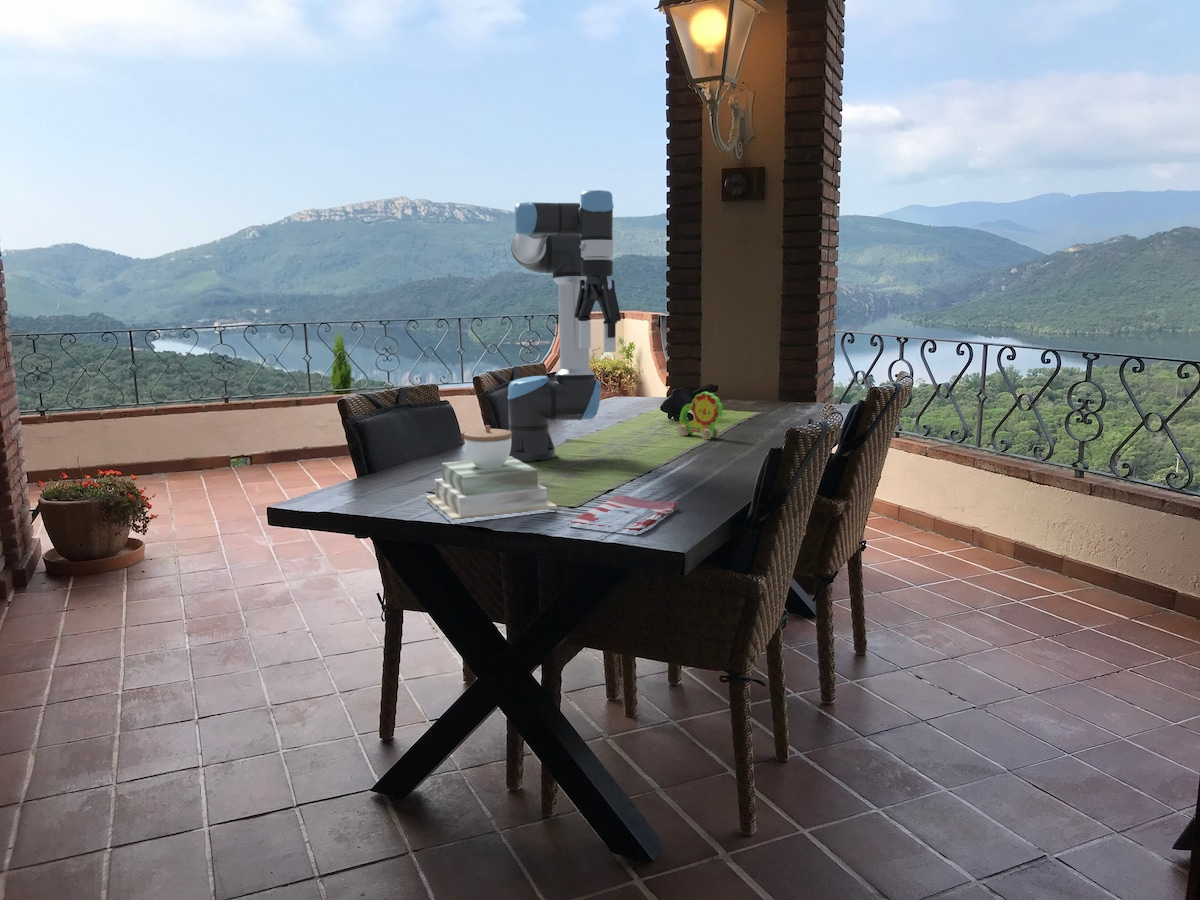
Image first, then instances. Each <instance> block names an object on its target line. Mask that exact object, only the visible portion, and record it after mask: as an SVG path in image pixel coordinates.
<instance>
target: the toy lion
mask: <svg viewBox="0 0 1200 900" xmlns="http://www.w3.org/2000/svg"><path fill="white" fill-rule="evenodd" d="M689 411H692V413H693V415H694V417H693V418H694V419H692V420H690V421H688V412H689ZM723 413H724V412H723V403H722V402H721V400H720V398H719V396H716V395H715V393H712V392H711V393H710V392H709V391H703V392H700V393H699V394H698V393H697V394H696V395H695V396H694V398H693V399H692V401H691V403H687V404H685V405H684V406H683V407H682V409H681V411H680V416H679V425H678V427H677V428H676V429H677V433H678V435H679V436H681V437H685V436H688V434H690V435H693V434H694V432H695V433H698V434H701V435H700V436H701V438H702V439H703V440H704V439H709V440H711V439H716V438H718V436H719V433H720V431H719V429H718V428H717V426H715V424H718V423H719V422H720V419H721V418H722V417H723ZM711 437H712V438H711Z"/></svg>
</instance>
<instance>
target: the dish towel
mask: <svg viewBox="0 0 1200 900" xmlns="http://www.w3.org/2000/svg"><path fill="white" fill-rule="evenodd" d="M678 505H679V502H678V501H659V500H658V501H653V500H648V499H641V498H637V497H633V496H629V495H613V496H612V497H610V498H609V499H608V500H607V501H605V502H604V503H602V504H600V505H598V506H597V507H594V508H592V509H590V510H588V511H586V512H584V513H582V514H581V515H578V516H577V517H575V518H574V520H572V521H570V522H569V523H580V524H589V525H598V526H606V525H601V524H591V523H588V522H593V521H594V522H595V520H598V519H599V518H595V517H594V516H596V515H598V514H599V513H601V512H608V511H611V510H612V509H615V508H647V509H651V510H653V511H655V512H656V513H657V514H656V515H653V516H651V517H649V518H647V520H645V521H642V522H634V523H637V525H635V526H634V527H631V528H623V529H629V530H637V531H640V530H642V529H645V528H647V527H648V526H650V525H652V524H654V523H656V522H657V521H658V520H659V519H661V518H663V517H664V516H667V515H669V514H670V513H672V512H673V511H675V510H676V509H678V510H679V508H678ZM672 514H673V513H672ZM669 516H670V515H669ZM608 527H612V526H608Z"/></svg>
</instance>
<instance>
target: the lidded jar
mask: <svg viewBox="0 0 1200 900" xmlns="http://www.w3.org/2000/svg"><path fill="white" fill-rule="evenodd" d="M511 437H512V432H511V431H509V429H504V428H503V429H501V428H491V424H489V425H487V424H486V425H485V428H478V429H472V430H468V431H465V432H464V434H463V439H464V448H465V452H466V456H467V458H468V459H469V460H470V461H471V462H472V463H473V464H474V465H475V467H476V468H480V469H494V468H500V467H502V464H504V463H505V462H506V460H507V459H508V457H509V455H510V451H511Z"/></svg>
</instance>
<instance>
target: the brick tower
mask: <svg viewBox="0 0 1200 900" xmlns="http://www.w3.org/2000/svg"><path fill="white" fill-rule="evenodd" d="M441 470H442V477H441V478H435V479H434V494H431V495H429V494H428V495H425V501H426V500H428V501H429V502H430V503H431V504H433V505H434V506H435V507H437V508H438V509H439V510H440V511H442V512H443V513H444V514H446V515H447V516H448V517H450V518H451V519H452V520H454V519H465V518H474V517H485V516H494V515H503V514H512V513H522V512H529V511H538V510H547V509H557V510H558V505H557V504H556V503H553V502H552V501H550V500H548V499H547V498H548V497H547V496H548V495H547V493H548V491H547V489H548V488H547V487H546V486H544V485H542V484H540V483H539V480H538V479H539V476H538V475H539V474H538V469H536V468H534V467H533V466H531V465H529V464H527V463H525V462H524V461H519V460H517V459H515V458H513V457H512V456H510V457H508V459H507V460H506V462H505V463H504V464H502V467H500V468H494V469H480V468H476V467H475V465H474V464H473V463H472V462H471V461H470V459H469V460H460V461H448V462H447V461H446V462H442V463H441Z"/></svg>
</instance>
